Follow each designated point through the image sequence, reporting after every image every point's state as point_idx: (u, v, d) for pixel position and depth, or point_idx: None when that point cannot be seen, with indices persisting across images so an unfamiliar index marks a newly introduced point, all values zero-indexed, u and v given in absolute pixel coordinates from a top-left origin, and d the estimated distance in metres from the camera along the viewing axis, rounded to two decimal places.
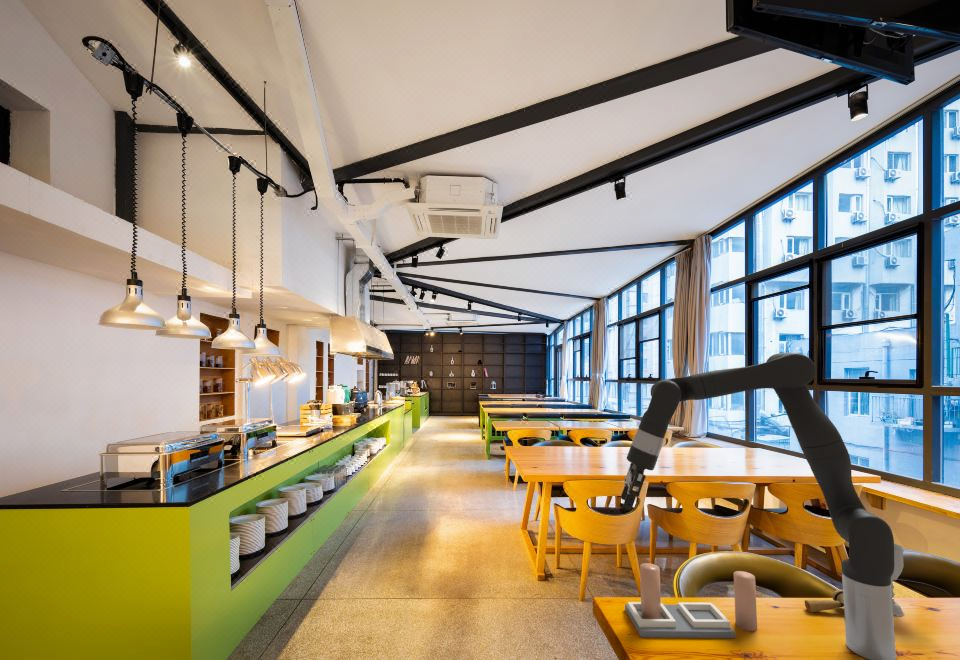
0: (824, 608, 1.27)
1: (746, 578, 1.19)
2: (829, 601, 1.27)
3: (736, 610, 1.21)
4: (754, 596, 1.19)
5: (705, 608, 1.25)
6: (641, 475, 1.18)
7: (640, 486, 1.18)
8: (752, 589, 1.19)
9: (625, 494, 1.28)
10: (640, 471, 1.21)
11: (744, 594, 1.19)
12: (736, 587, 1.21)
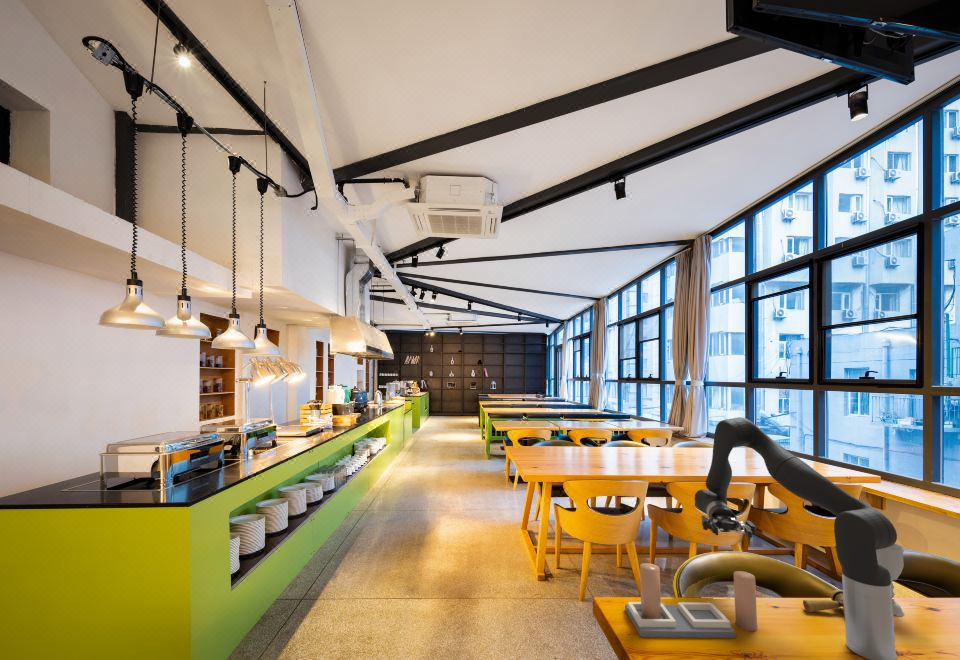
0: (822, 608, 1.27)
1: (746, 578, 1.19)
2: (827, 601, 1.27)
3: (736, 610, 1.21)
4: (754, 596, 1.19)
5: (705, 608, 1.25)
6: None
7: (702, 519, 1.42)
8: (752, 589, 1.19)
9: (746, 533, 1.33)
10: None
11: (744, 594, 1.19)
12: (736, 587, 1.21)
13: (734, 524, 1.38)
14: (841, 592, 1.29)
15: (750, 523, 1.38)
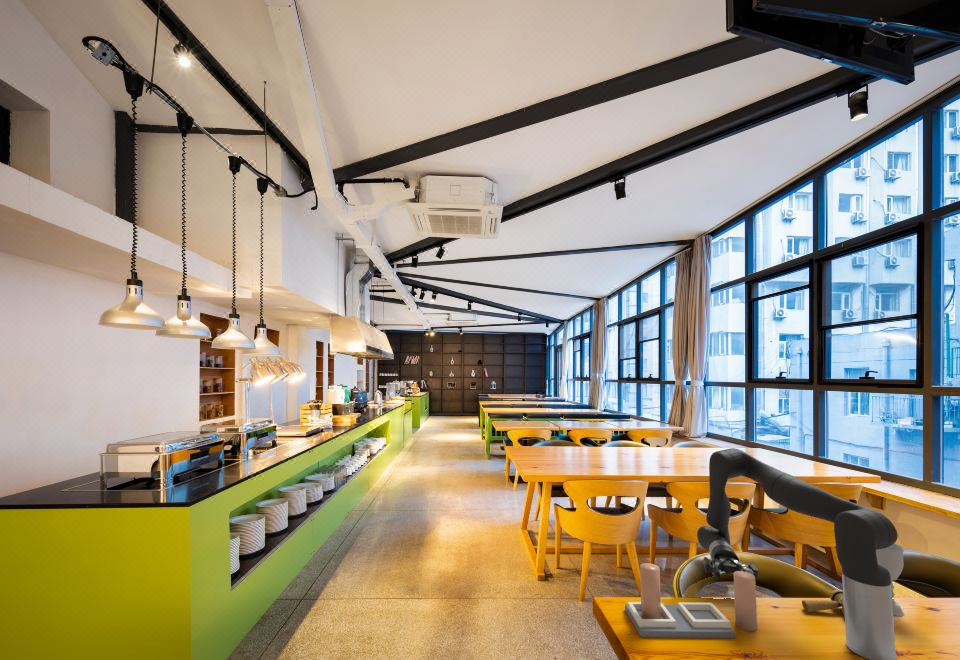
0: (821, 608, 1.27)
1: (746, 578, 1.19)
2: (826, 601, 1.27)
3: (736, 610, 1.21)
4: (754, 596, 1.19)
5: (705, 608, 1.25)
6: None
7: (704, 561, 1.41)
8: (752, 589, 1.19)
9: None
10: None
11: (744, 594, 1.19)
12: (736, 587, 1.21)
13: (736, 567, 1.37)
14: (840, 592, 1.29)
15: (753, 566, 1.37)
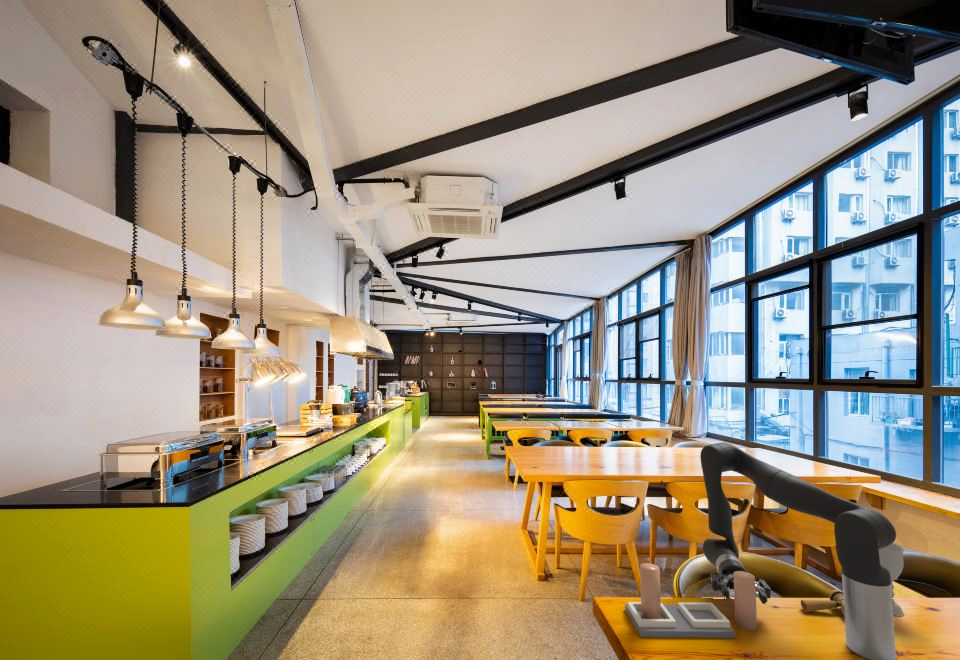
0: (820, 608, 1.27)
1: (746, 578, 1.20)
2: (825, 601, 1.27)
3: (736, 610, 1.21)
4: (754, 596, 1.19)
5: (705, 608, 1.25)
6: None
7: (711, 578, 1.30)
8: (752, 589, 1.19)
9: (760, 597, 1.21)
10: None
11: (744, 594, 1.19)
12: (736, 587, 1.21)
13: None
14: (839, 592, 1.29)
15: (764, 584, 1.25)
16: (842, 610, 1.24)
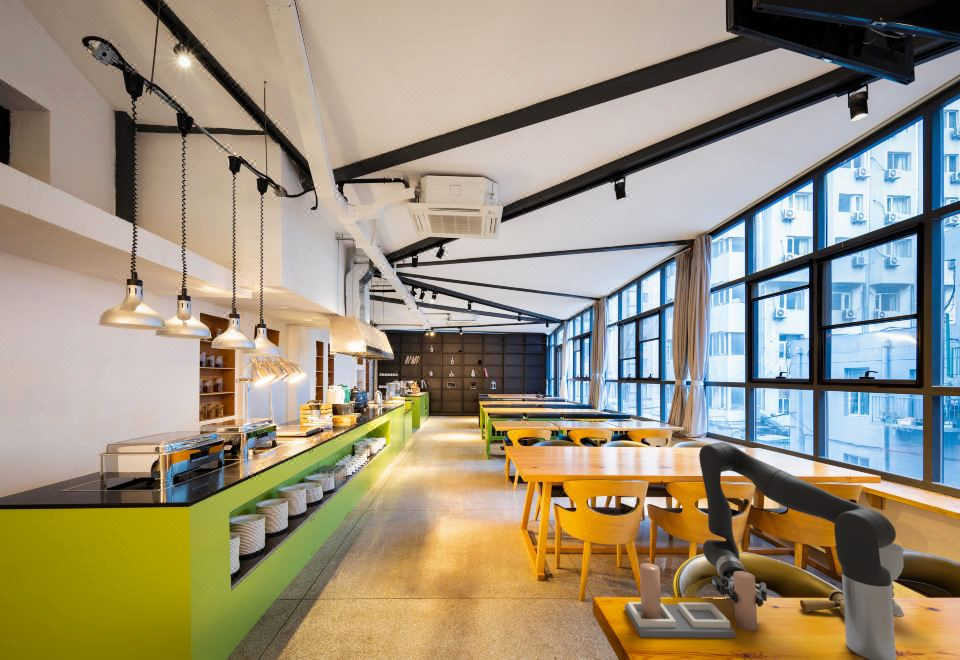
0: (819, 608, 1.27)
1: (746, 578, 1.19)
2: (824, 601, 1.27)
3: (736, 610, 1.21)
4: (754, 596, 1.19)
5: (705, 608, 1.25)
6: (712, 580, 1.30)
7: (716, 582, 1.27)
8: (752, 589, 1.19)
9: (756, 600, 1.19)
10: None
11: (744, 594, 1.19)
12: (736, 587, 1.21)
13: None
14: (838, 592, 1.29)
15: (763, 587, 1.24)
16: (841, 610, 1.24)
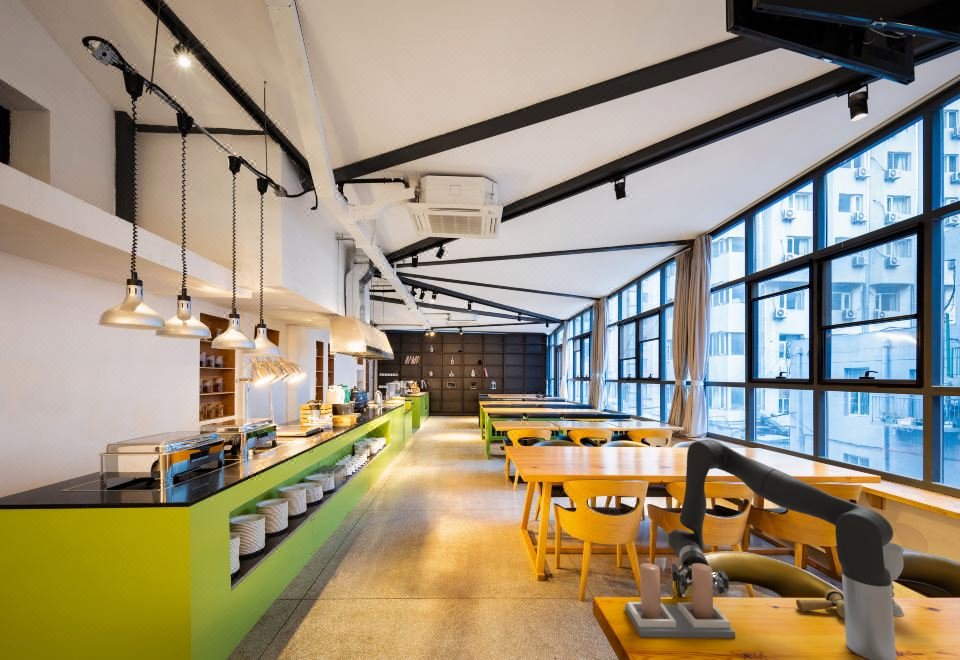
0: (815, 608, 1.27)
1: (702, 570, 1.21)
2: (821, 601, 1.28)
3: (693, 601, 1.22)
4: (710, 588, 1.20)
5: None
6: None
7: None
8: (708, 581, 1.20)
9: (718, 588, 1.21)
10: (682, 568, 1.32)
11: (701, 586, 1.20)
12: (693, 579, 1.22)
13: None
14: (835, 592, 1.29)
15: (723, 574, 1.26)
16: (837, 610, 1.24)
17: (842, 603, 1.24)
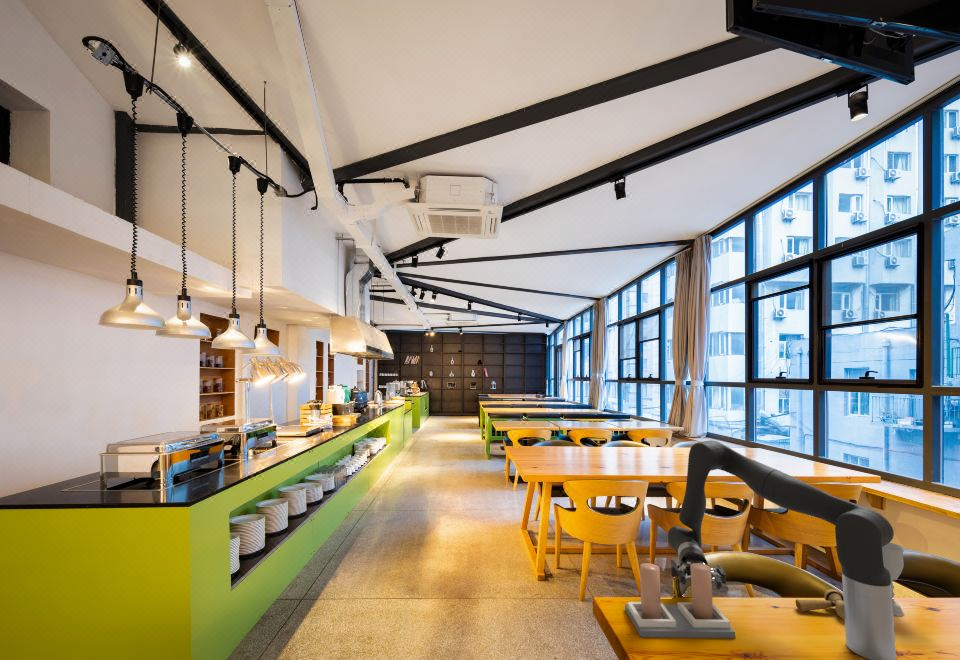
0: (815, 608, 1.27)
1: (701, 570, 1.21)
2: (820, 601, 1.28)
3: (693, 601, 1.22)
4: (710, 587, 1.20)
5: None
6: None
7: (670, 565, 1.32)
8: (707, 580, 1.20)
9: (715, 583, 1.24)
10: None
11: (700, 585, 1.20)
12: (692, 579, 1.22)
13: None
14: (834, 592, 1.29)
15: (721, 570, 1.28)
16: (837, 610, 1.24)
17: (841, 603, 1.24)
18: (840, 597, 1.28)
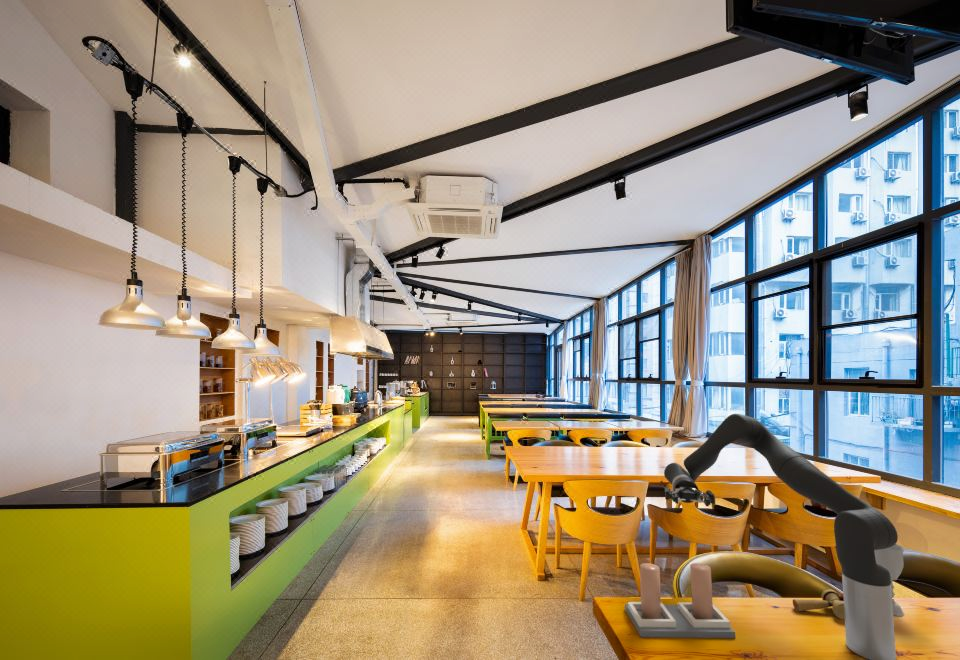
0: (812, 607, 1.27)
1: (701, 570, 1.21)
2: (817, 601, 1.28)
3: (692, 601, 1.22)
4: (709, 588, 1.20)
5: None
6: None
7: (665, 490, 1.47)
8: (707, 581, 1.20)
9: (705, 502, 1.38)
10: (674, 491, 1.48)
11: (699, 586, 1.20)
12: (692, 579, 1.22)
13: (695, 494, 1.43)
14: (832, 592, 1.29)
15: (710, 493, 1.42)
16: (834, 610, 1.25)
17: (838, 603, 1.24)
18: (837, 597, 1.28)
